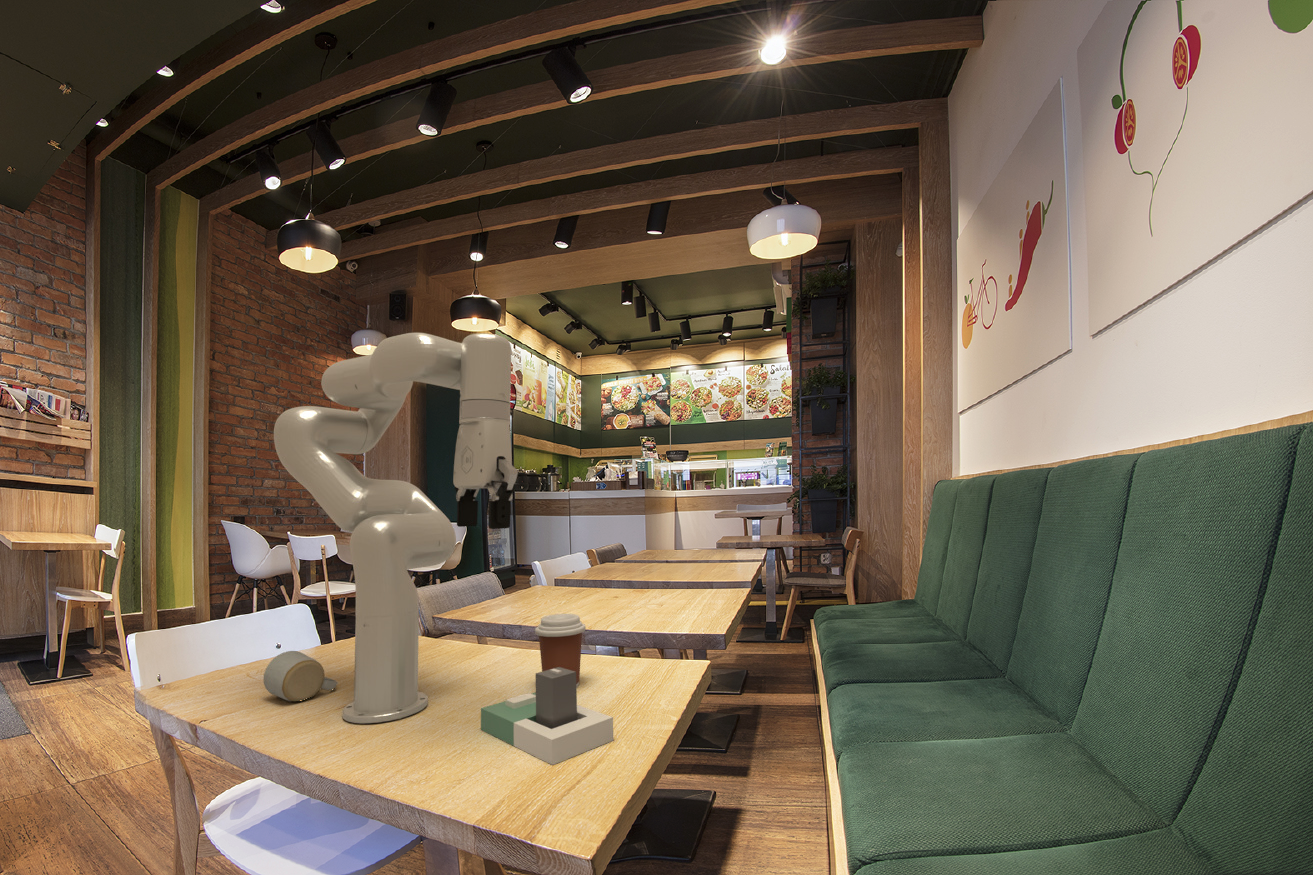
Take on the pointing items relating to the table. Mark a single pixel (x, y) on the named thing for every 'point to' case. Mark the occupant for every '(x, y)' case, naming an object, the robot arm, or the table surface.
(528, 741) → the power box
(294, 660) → the ceramic mug
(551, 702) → the grey square peg
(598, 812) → the table surface
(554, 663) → the coffee cup
